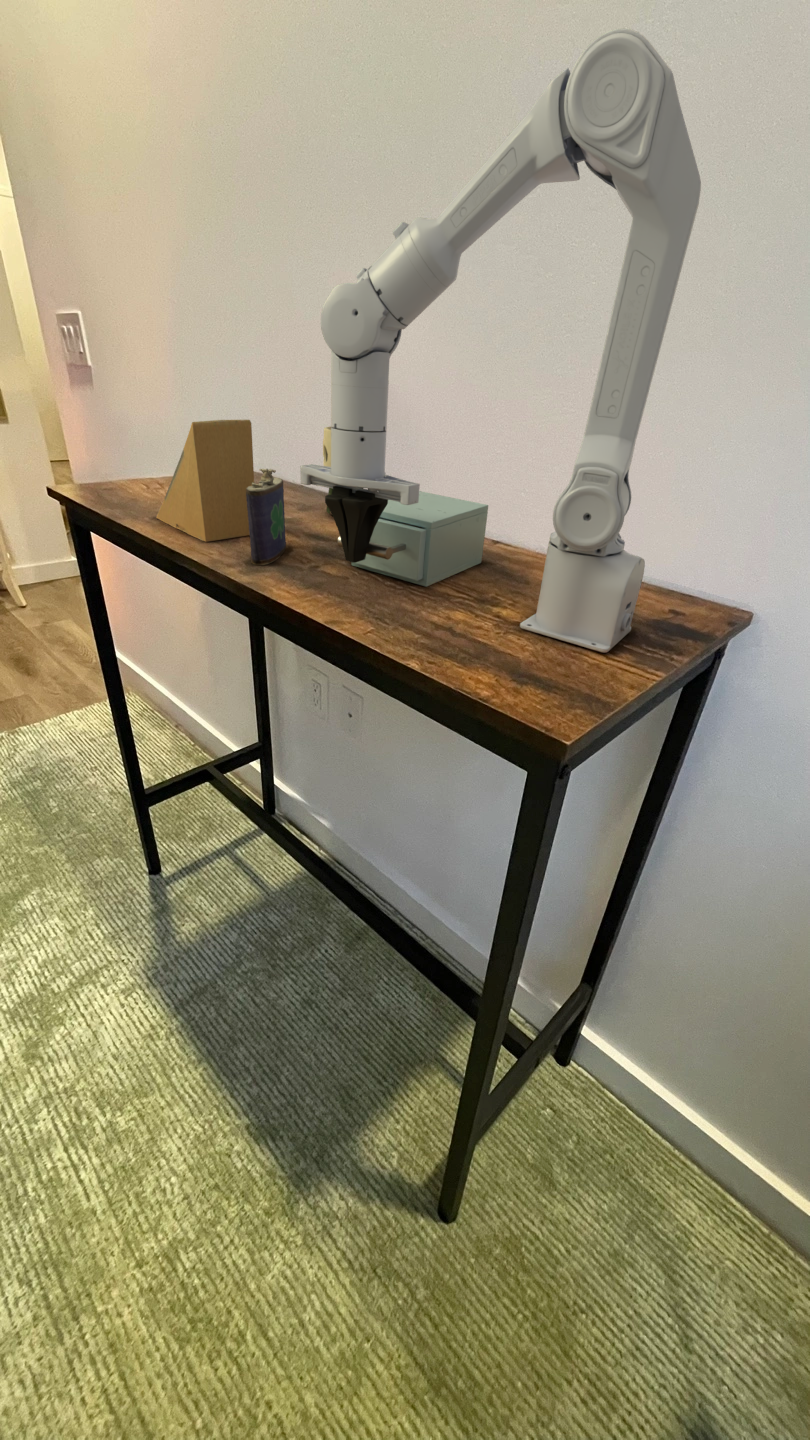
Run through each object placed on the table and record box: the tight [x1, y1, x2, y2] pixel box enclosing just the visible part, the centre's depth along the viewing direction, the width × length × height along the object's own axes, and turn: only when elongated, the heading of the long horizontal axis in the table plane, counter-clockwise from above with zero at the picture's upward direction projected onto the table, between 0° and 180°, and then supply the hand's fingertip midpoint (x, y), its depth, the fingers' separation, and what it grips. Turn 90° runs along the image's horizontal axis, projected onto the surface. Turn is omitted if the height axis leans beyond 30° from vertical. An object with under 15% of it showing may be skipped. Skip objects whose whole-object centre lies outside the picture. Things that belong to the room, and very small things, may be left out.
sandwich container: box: [155, 419, 255, 543], centre depth 89 cm, size 9×15×15 cm, turn 43°
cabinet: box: [350, 490, 489, 588], centre depth 81 cm, size 14×12×8 cm
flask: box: [246, 468, 287, 566], centre depth 80 cm, size 9×3×11 cm, turn 171°
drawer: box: [336, 518, 426, 581], centre depth 78 cm, size 17×10×6 cm, turn 145°
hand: (355, 560), depth 72 cm, fingers closed, pressing on drawer
